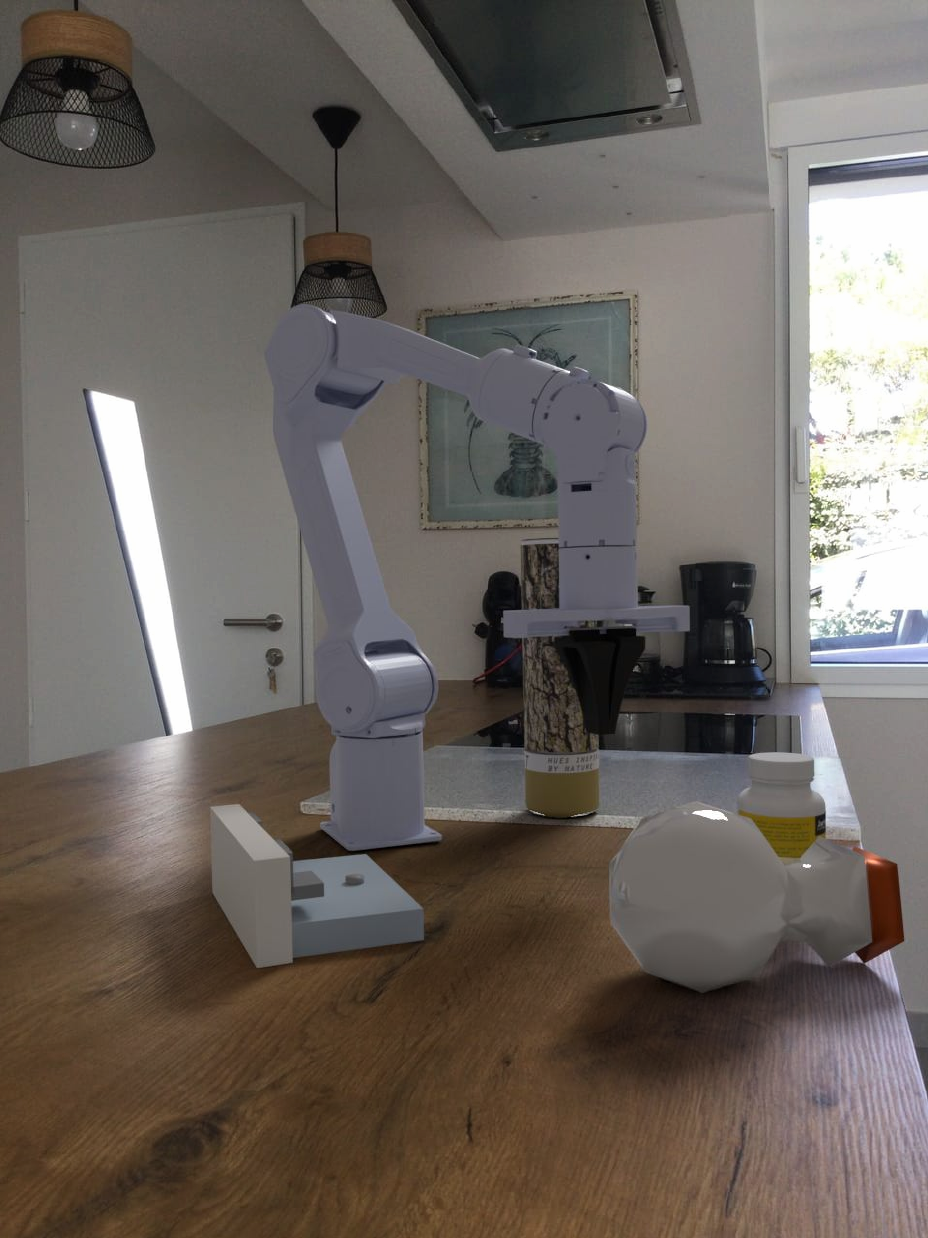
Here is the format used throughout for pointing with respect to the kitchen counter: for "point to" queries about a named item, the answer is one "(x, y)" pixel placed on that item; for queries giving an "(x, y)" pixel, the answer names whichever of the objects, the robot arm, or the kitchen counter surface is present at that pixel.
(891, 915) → the potion bottle
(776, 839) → the supplement bottle
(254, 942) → the side panel
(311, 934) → the door
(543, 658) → the paper tube
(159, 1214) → the kitchen counter surface
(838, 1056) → the kitchen counter surface
